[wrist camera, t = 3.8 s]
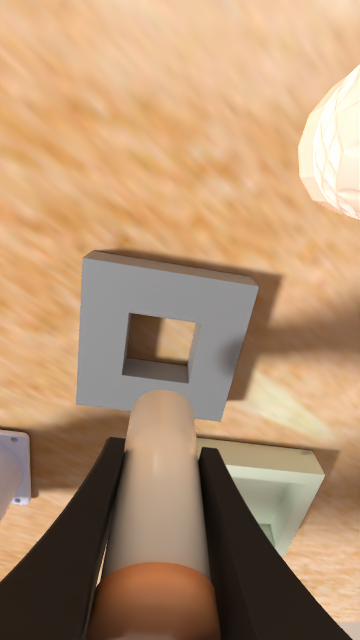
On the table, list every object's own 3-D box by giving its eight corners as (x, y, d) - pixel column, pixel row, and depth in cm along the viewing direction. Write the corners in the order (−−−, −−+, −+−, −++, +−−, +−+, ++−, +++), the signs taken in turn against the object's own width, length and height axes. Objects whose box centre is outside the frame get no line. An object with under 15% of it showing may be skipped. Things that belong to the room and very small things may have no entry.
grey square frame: (84, 385, 22) (76, 404, 20) (92, 250, 18) (82, 257, 16) (216, 401, 23) (220, 421, 21) (249, 276, 19) (259, 286, 17)
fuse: (125, 437, 15) (83, 669, 8) (132, 383, 14) (88, 600, 6) (189, 444, 15) (206, 673, 8) (201, 392, 14) (234, 608, 7)
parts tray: (150, 518, 28) (148, 545, 26) (167, 434, 24) (167, 458, 22) (275, 528, 29) (284, 556, 27) (311, 450, 25) (325, 475, 23)
